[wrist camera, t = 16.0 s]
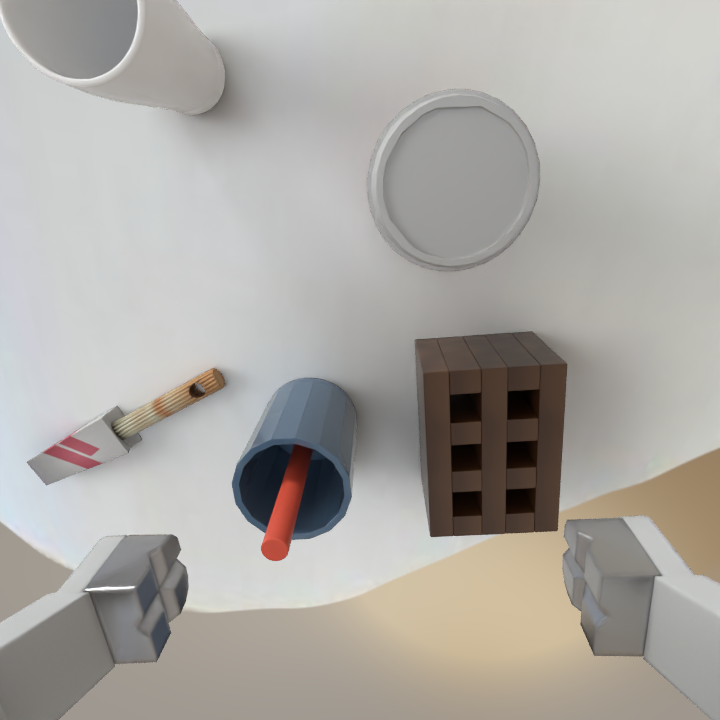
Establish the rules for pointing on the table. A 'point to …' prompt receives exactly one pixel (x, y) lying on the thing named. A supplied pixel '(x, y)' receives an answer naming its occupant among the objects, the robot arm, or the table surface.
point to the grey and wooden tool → (116, 431)
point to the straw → (287, 505)
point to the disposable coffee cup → (453, 180)
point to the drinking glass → (120, 50)
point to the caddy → (490, 433)
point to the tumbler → (274, 447)
